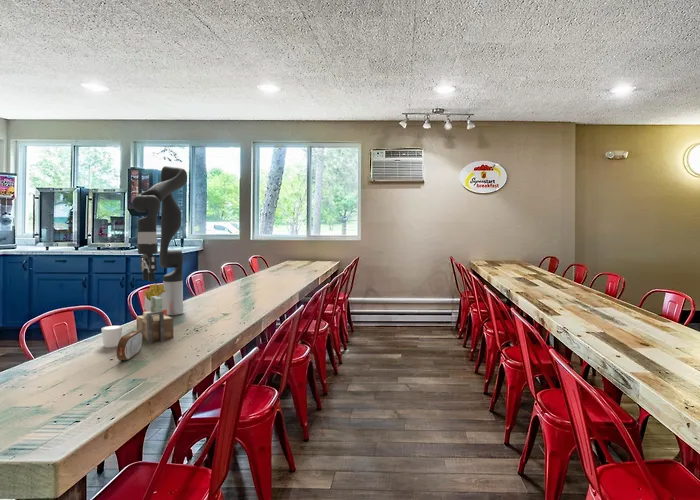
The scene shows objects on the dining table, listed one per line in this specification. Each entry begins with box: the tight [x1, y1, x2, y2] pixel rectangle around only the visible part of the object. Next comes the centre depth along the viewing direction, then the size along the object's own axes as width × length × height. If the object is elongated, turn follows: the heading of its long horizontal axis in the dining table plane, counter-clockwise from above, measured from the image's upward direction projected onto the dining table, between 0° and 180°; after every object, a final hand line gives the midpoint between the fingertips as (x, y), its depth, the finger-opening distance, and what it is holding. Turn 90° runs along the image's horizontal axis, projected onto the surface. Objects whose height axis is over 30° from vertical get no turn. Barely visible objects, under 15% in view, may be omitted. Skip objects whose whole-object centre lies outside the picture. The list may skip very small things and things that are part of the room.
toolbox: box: [136, 311, 174, 345], centre depth 164 cm, size 16×10×12 cm, turn 48°
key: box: [142, 311, 159, 322], centre depth 160 cm, size 10×2×2 cm, turn 48°
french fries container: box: [143, 283, 168, 316], centre depth 188 cm, size 5×11×18 cm, turn 60°
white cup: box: [100, 324, 123, 348], centre depth 153 cm, size 7×7×7 cm
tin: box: [116, 330, 144, 361], centre depth 141 cm, size 15×3×8 cm, turn 5°
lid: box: [136, 296, 172, 323], centre depth 165 cm, size 12×9×9 cm
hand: (148, 280), depth 170 cm, fingers open, 8 cm apart
